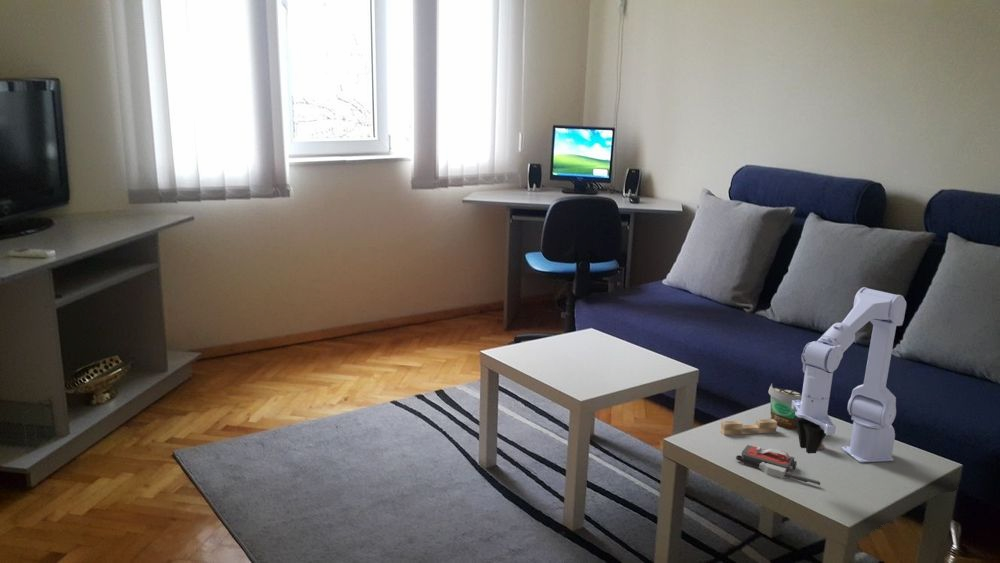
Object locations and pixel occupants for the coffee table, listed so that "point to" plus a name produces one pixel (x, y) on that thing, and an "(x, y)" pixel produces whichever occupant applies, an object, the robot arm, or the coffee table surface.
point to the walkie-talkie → (772, 462)
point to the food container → (783, 406)
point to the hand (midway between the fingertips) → (808, 450)
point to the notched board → (748, 427)
